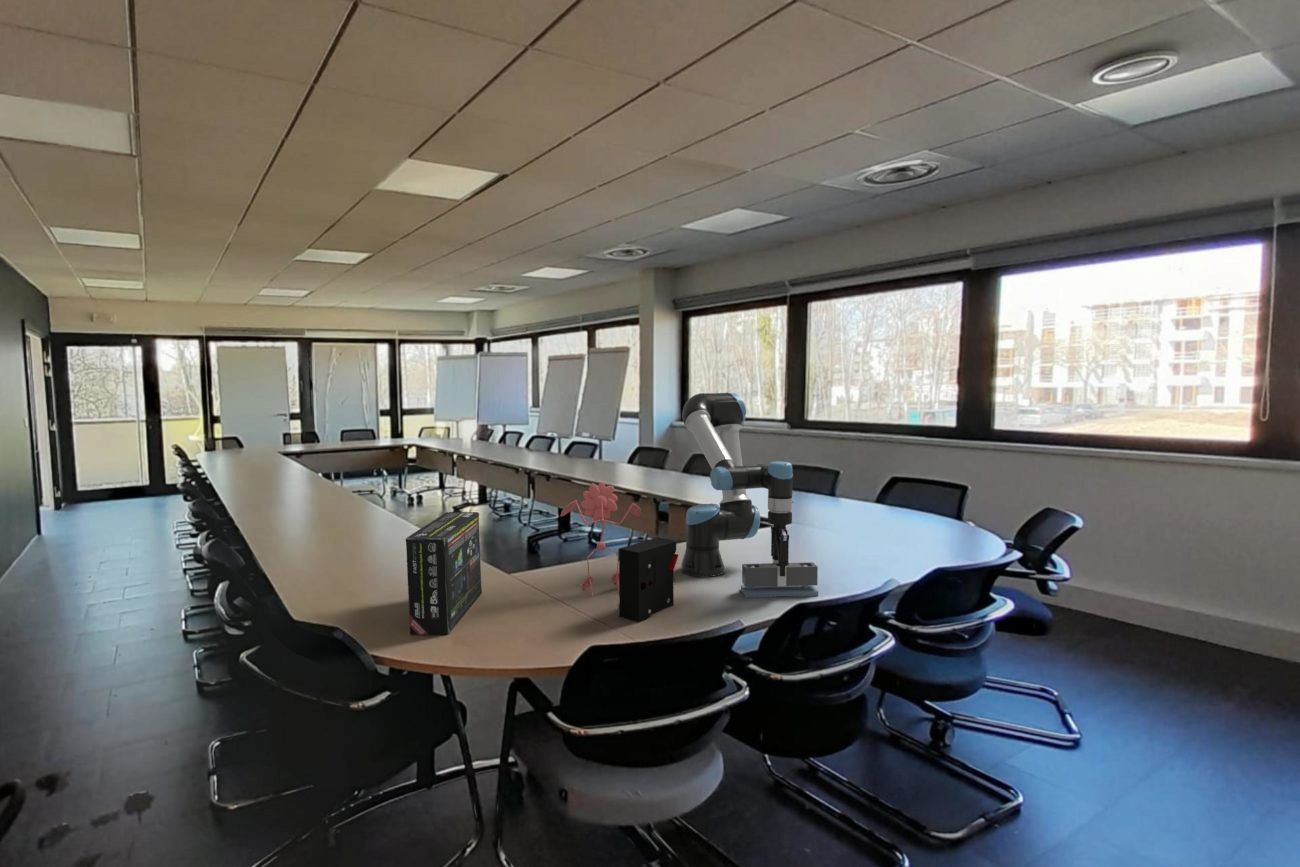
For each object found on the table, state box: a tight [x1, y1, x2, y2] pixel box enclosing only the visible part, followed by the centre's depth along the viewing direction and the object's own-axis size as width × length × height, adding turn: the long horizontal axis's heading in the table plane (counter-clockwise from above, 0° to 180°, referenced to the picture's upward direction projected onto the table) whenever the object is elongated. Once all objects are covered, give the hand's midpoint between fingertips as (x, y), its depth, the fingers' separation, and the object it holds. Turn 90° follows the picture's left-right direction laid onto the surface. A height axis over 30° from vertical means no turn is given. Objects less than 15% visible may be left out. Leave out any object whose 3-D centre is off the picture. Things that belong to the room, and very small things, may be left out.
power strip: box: [741, 561, 819, 587], centre depth 214 cm, size 23×5×6 cm, turn 93°
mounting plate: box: [740, 565, 819, 598], centre depth 214 cm, size 23×8×9 cm, turn 93°
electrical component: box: [615, 537, 679, 623], centre depth 198 cm, size 18×10×20 cm, turn 141°
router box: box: [405, 511, 483, 636], centre depth 196 cm, size 36×11×27 cm, turn 0°
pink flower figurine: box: [560, 482, 642, 597], centre depth 218 cm, size 15×26×35 cm, turn 110°
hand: (779, 582), depth 214 cm, fingers closed on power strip, 5 cm apart
